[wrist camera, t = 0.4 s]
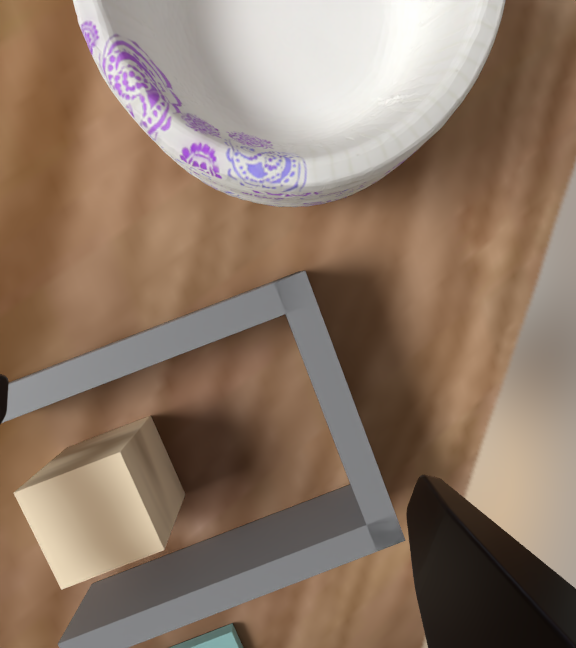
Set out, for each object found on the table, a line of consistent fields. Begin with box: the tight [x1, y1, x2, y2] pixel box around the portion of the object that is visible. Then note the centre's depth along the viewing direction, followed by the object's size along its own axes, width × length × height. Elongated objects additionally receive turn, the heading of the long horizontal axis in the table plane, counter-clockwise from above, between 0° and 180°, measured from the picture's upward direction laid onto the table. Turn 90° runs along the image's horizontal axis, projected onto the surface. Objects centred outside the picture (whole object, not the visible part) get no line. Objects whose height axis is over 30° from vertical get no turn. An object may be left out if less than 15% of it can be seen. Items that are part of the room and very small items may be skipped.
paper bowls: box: [73, 0, 506, 207], centre depth 18 cm, size 15×15×8 cm
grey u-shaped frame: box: [2, 271, 405, 648], centre depth 22 cm, size 18×14×4 cm
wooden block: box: [14, 416, 185, 590], centre depth 21 cm, size 5×5×5 cm
